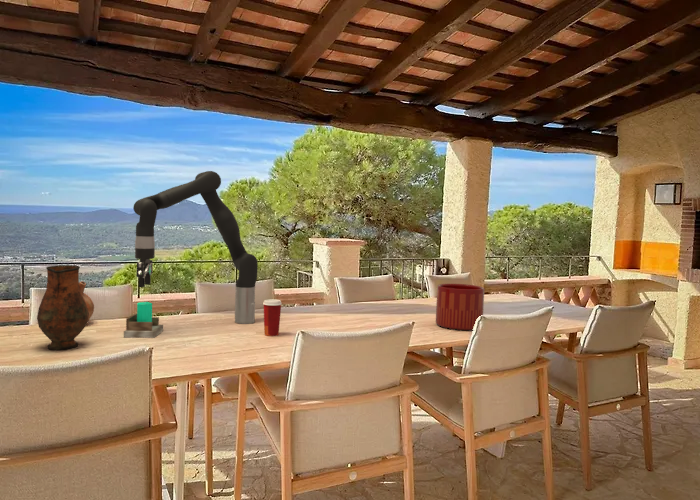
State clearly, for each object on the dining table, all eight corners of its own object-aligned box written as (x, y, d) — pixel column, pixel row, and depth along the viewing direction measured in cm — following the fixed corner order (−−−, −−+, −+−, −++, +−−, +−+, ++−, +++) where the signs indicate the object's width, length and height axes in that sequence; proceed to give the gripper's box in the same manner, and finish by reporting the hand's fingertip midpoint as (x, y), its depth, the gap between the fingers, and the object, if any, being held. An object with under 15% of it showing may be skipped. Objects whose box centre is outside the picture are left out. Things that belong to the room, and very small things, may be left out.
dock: (163, 330, 218) (163, 313, 218) (154, 337, 204) (154, 319, 204) (134, 329, 217) (134, 312, 216) (123, 337, 203) (123, 319, 203)
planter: (463, 333, 235) (466, 290, 233) (426, 324, 252) (427, 284, 251) (491, 328, 250) (493, 287, 249) (454, 320, 267) (456, 282, 266)
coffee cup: (284, 333, 220) (285, 300, 219) (275, 337, 212) (276, 302, 211) (267, 331, 223) (268, 298, 222) (258, 335, 215) (259, 301, 214)
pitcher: (29, 353, 176) (29, 268, 174) (48, 339, 196) (49, 262, 194) (82, 351, 180) (82, 269, 178) (95, 338, 201) (95, 263, 199)
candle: (139, 326, 213) (139, 298, 213) (153, 326, 214) (154, 298, 213) (134, 329, 207) (135, 300, 207) (149, 329, 208) (149, 300, 207)
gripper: (149, 248, 202) (149, 288, 203) (158, 246, 216) (158, 283, 217) (130, 248, 201) (129, 288, 202) (140, 246, 215) (140, 283, 216)
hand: (144, 285), depth 209 cm, fingers open, 8 cm apart
